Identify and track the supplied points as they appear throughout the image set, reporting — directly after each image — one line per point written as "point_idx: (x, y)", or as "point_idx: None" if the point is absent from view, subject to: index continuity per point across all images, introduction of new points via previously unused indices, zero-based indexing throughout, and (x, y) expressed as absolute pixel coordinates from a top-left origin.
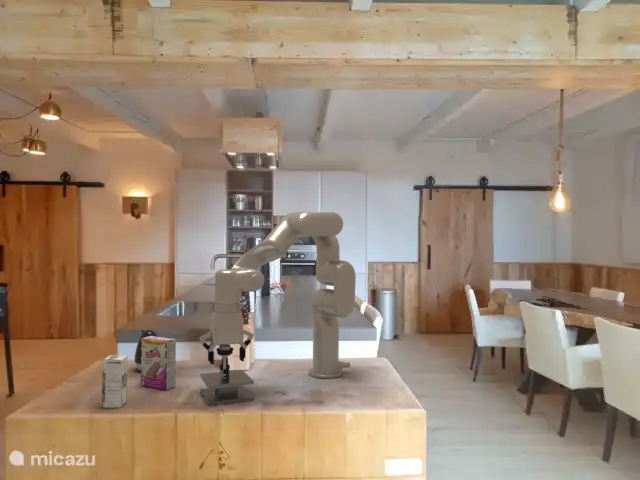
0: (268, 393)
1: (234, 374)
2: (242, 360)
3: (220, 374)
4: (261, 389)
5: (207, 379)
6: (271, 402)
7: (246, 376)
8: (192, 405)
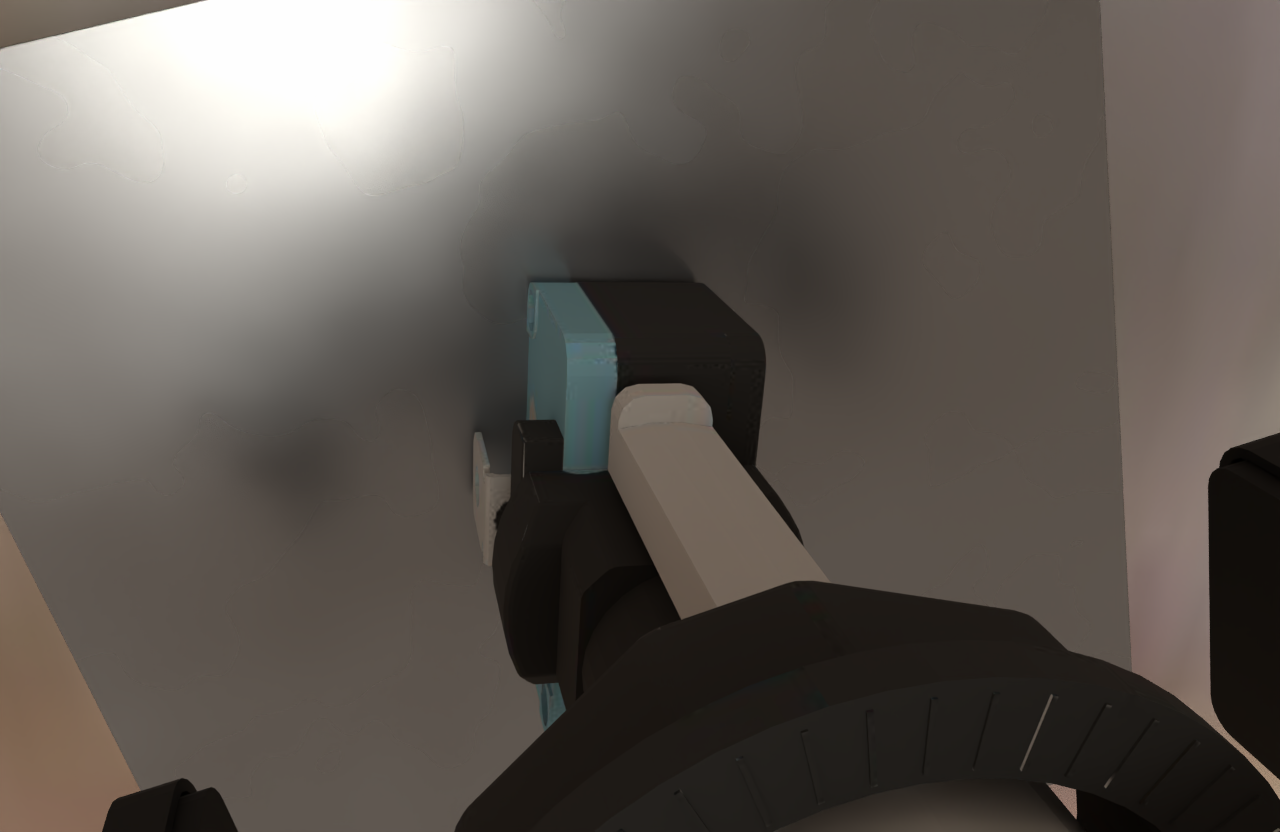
0: (1230, 275)
1: (835, 264)
2: (1250, 734)
3: (470, 229)
4: (1186, 32)
5: (165, 657)
6: (1160, 660)
7: (1072, 456)
8: (16, 778)
